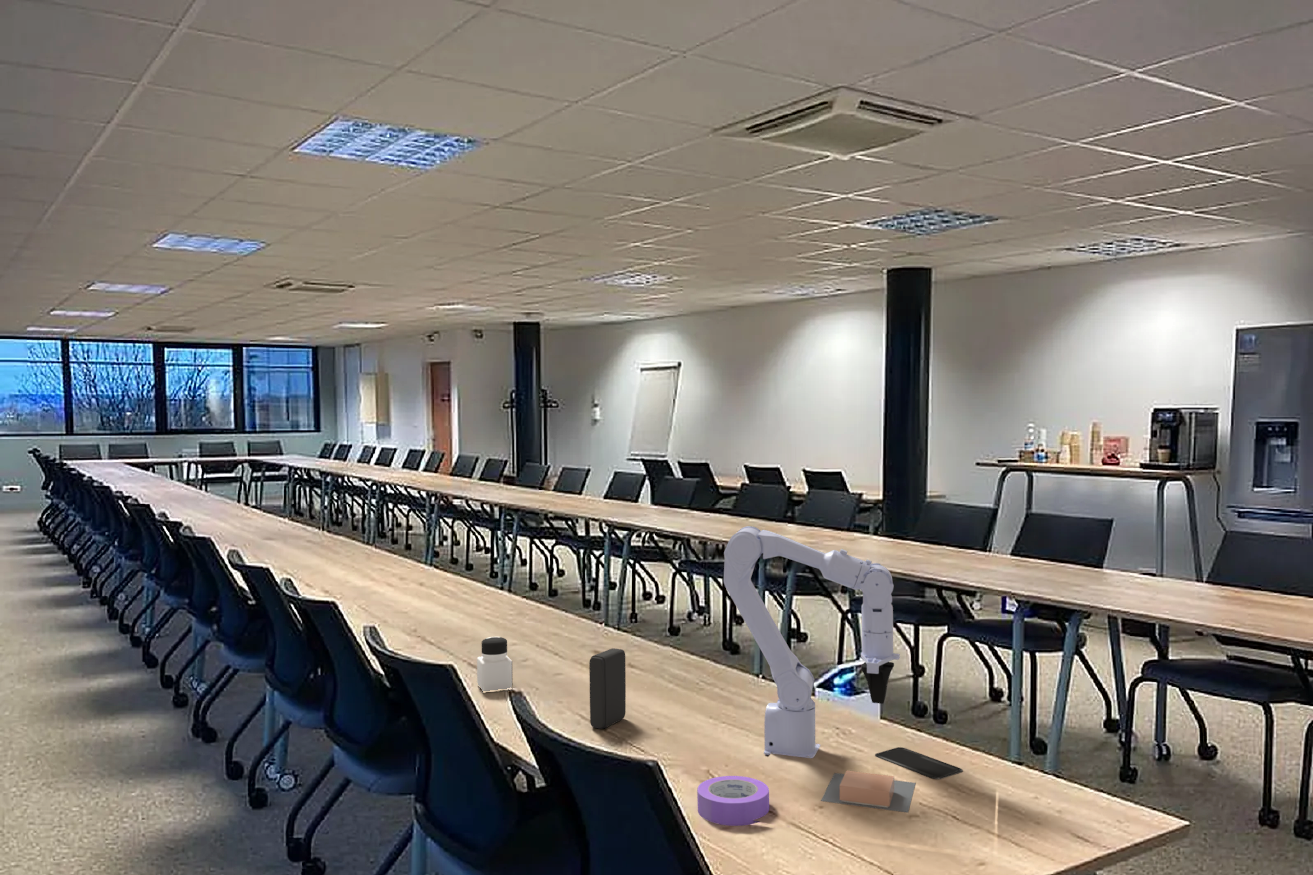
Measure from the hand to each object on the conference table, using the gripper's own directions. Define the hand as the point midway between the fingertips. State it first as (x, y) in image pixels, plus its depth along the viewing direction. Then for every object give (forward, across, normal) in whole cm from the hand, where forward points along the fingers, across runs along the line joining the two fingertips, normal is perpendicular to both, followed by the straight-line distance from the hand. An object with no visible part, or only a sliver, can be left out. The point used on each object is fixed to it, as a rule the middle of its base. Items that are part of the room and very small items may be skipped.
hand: (878, 702), depth 176 cm
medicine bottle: (+10, +17, +92) cm, 94 cm away
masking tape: (+11, -32, +19) cm, 39 cm away
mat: (+10, -18, -1) cm, 21 cm away
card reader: (+10, +2, +56) cm, 57 cm away
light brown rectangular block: (+8, -17, -1) cm, 19 cm away
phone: (+11, -2, -7) cm, 13 cm away
